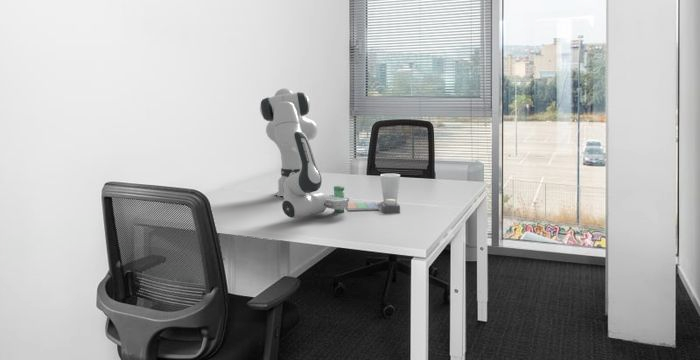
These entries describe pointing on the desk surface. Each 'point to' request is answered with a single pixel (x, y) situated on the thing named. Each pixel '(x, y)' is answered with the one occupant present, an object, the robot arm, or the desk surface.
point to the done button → (390, 202)
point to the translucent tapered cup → (390, 186)
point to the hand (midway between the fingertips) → (340, 198)
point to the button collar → (390, 208)
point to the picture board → (362, 207)
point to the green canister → (339, 193)
